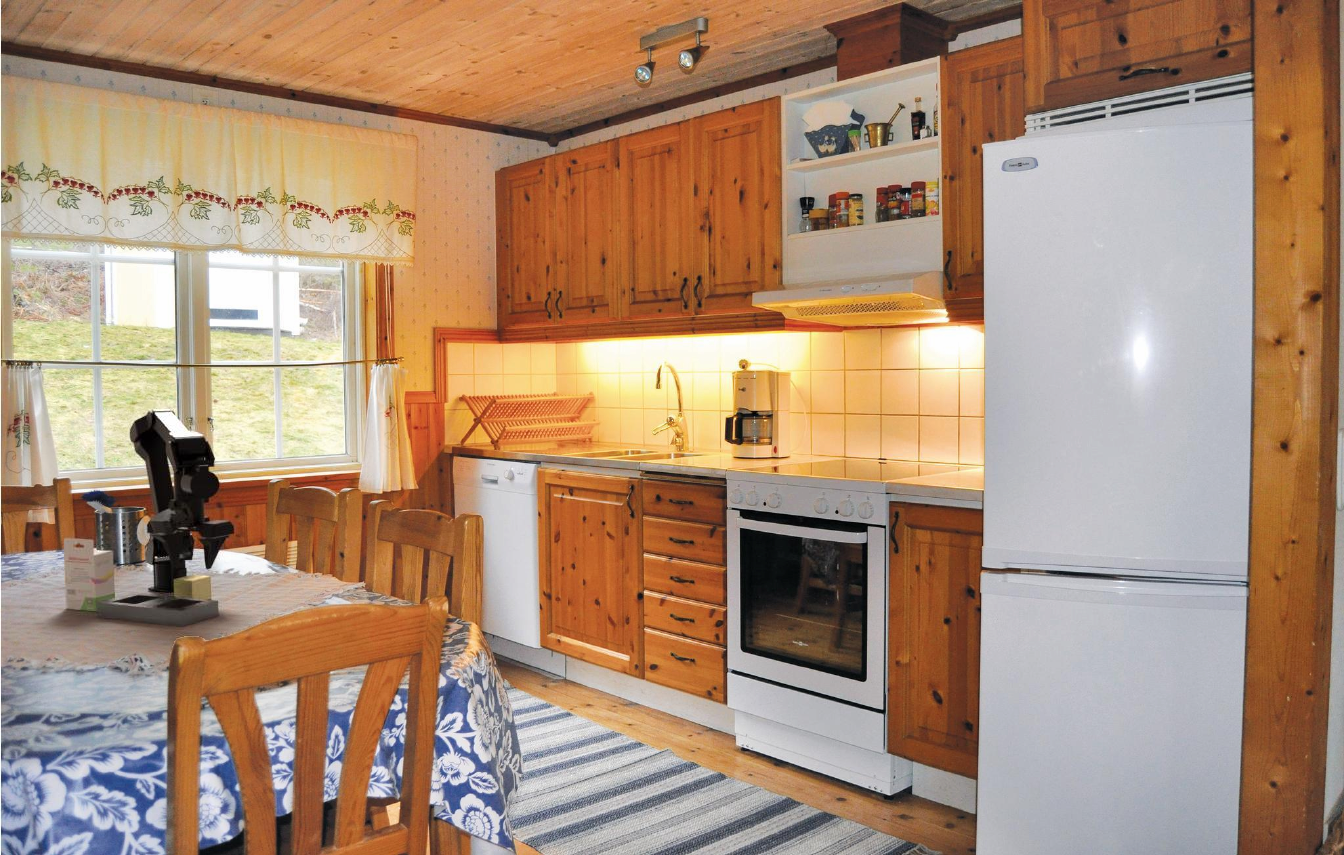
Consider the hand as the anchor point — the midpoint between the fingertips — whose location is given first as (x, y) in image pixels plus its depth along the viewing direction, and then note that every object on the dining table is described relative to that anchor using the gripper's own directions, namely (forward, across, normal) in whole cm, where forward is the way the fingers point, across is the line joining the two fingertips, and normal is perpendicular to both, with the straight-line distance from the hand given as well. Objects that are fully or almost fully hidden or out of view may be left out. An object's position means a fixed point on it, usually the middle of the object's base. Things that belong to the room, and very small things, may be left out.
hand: (191, 567), depth 214 cm
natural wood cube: (+7, 0, 0) cm, 7 cm away
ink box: (+7, -15, -12) cm, 21 cm away
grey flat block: (+7, +5, -13) cm, 16 cm away
